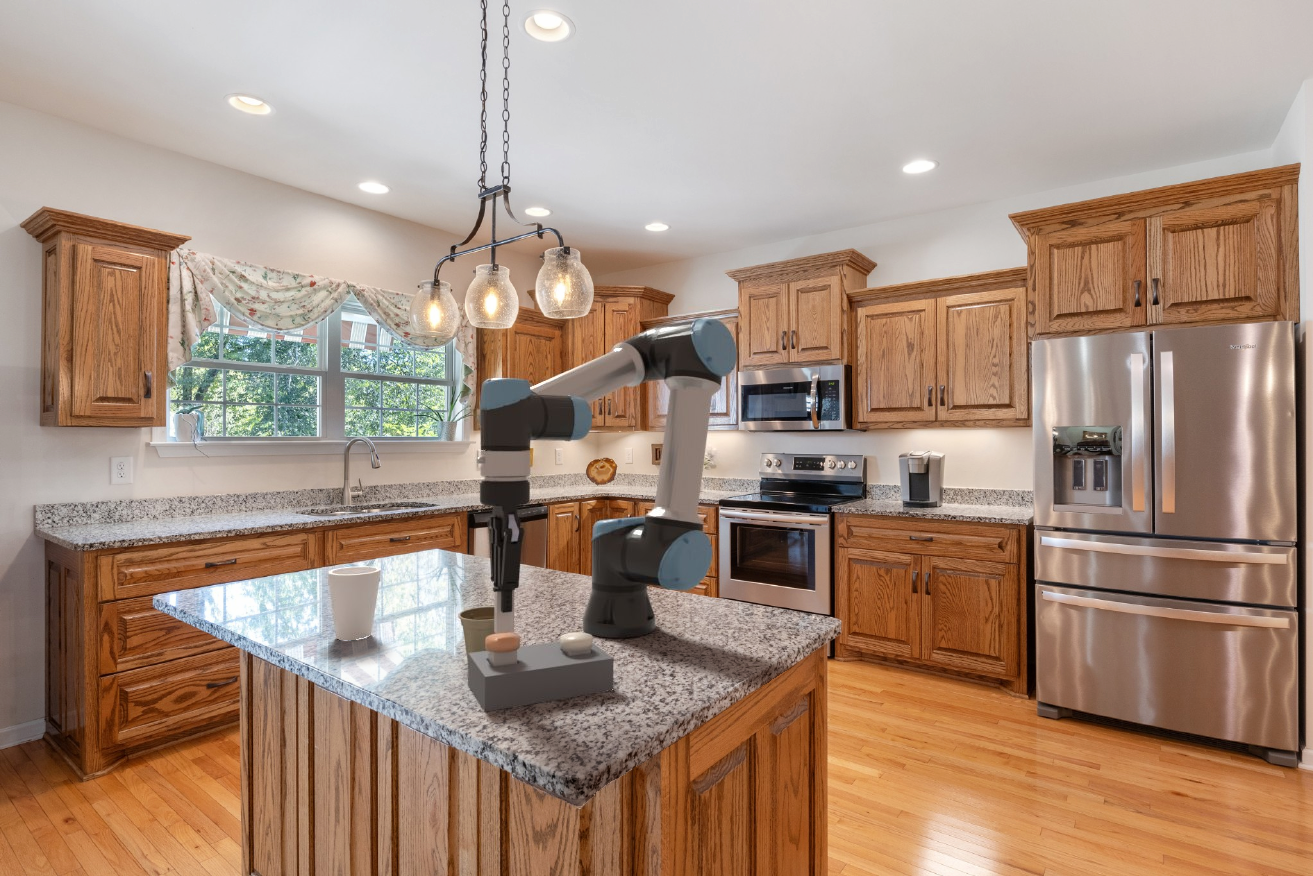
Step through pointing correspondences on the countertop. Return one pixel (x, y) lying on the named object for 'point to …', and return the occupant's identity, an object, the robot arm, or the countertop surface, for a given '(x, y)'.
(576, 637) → the cream plunger
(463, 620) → the flower pot
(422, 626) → the countertop surface
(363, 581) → the foam cup
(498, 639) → the terracotta plunger
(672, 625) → the countertop surface
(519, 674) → the block
